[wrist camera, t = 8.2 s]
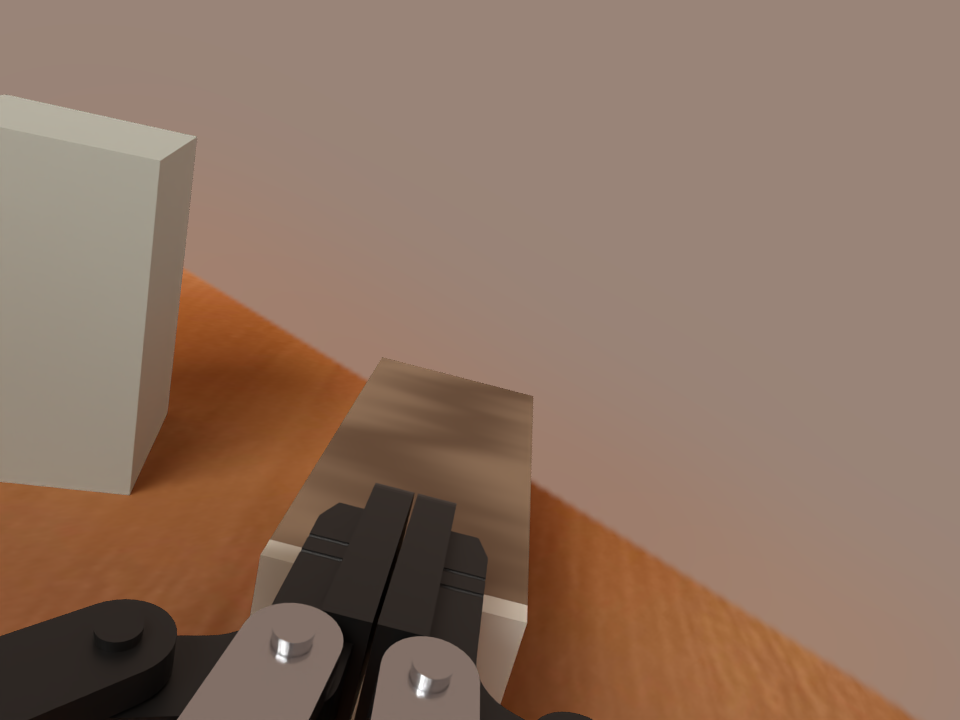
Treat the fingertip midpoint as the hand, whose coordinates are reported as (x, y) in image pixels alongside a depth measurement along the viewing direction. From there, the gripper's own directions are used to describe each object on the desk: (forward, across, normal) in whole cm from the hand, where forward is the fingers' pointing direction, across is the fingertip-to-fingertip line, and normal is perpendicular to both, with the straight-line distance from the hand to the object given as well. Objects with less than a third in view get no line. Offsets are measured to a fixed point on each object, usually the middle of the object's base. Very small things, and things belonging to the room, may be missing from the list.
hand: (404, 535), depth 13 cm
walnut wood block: (0, 0, +4) cm, 4 cm away
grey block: (+9, +12, +6) cm, 16 cm away
